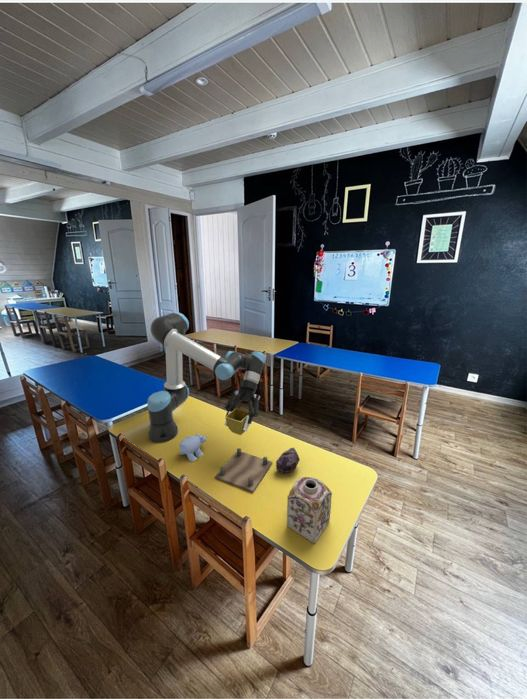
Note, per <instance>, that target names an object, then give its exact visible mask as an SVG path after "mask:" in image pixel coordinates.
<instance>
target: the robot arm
mask: <svg viewBox="0 0 527 699" xmlns="http://www.w3.org/2000/svg"><path fill="white" fill-rule="evenodd" d="M189 327H190V322H189V320H188V318H187V317H186V316H185V315H184V314H183V313H181V312H176V311H175V312H170V313H168V314H165V315H161V316H158V317H156V318H155V319H153V320H152V322H151V325H150V334H151V335H152V337H153V339H154V340H156V342H158V343H159V344H161V345H162V346H164V347H165V364H166V366H165V367H166V374H165V375H166V382H164V384H163V390H160V391H157V392H153V393H152V394H151V395H149V397H147V398H148V399H146V400H147V412H148V418H149V422H150V423H149V424H150V425H149V431H148V439H149V441H151V442H152V443H166V442H169V441H170V440H173V439H175V437H177V436H178V434H179V433H178V432H179V431H178V429H179V428H178V425H177V423H176V422H175V420H174V415H173V414H174V413H173V411H175V410H176V409H177V408H179V407H180V406H181V405H182V404H184V403H185V402H186V401H187V399H188V398H189V396H190V389H189V387H187V386H188V385H187V384H186V382H185V381H184V379H183V378H184V377H183V376H184V375H183V355H184V356H187V357H188V358H190V359H192V360H194V361H195V362H197V363H199V364H201V365H203V366H205V368H208V369H210V370H212V371H213V372H215V375H216V377H217V379H219V380H220V381H227V380H228V379H230V378H232V377H233V376H234V374H235V373H236V372H238V371H239V369H242V370H246V371H245V373H244V376H243V378H242V379H243V380H242V382H241V386H240V389H239V390H235V389H233V391H232V394H231V396H230V398H229V399H228V401H227V403H226V404H225V406H224V409H225V410H226V415H225V417H226V416H227V415H228V414H230V413H231V412H232V411H233V410H234V409H236V408H237V406H238V405H239V404H240V403H242V401H244V402H245V401H246V402H247V407H248V412H249V415H250V416H247V419H246V422H245V425H244V429H243V430H244V431H245V432H248V429H249V427H248V426H250V425H252V421H253V418H257V417H258V416H259V406H260V405H259V404H260V399H261V396H260V395H259V394H258V393H257V394H256V391H257V389H258V384H259V381H260V378H261V375H262V373H263V370H264V366H265V362H266V358H267V357H266V354H264V353H263V352H261V351H257V350H256V351H252V352H251V353H250V354H247V353H242V352H237V351H232V350H229V351H228V352H227V353H226V354H225V357H223V356H221V355H219V354H218V353H216V352H214V351H212V350H210V349H208V348H207V347H205V346H203V345H202V344H199V343H198V342H196V341H194V340H192V339H190V338H189V337H187V336H186V332H187V331H188V330H189ZM253 398H254V403H253ZM223 425H224V426H225V427H228V426H227V422H226V421H225V422H224V424H223Z"/></svg>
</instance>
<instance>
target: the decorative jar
mask: <svg viewBox="0 0 527 699" xmlns="http://www.w3.org/2000/svg"><path fill="white" fill-rule="evenodd" d="M332 494H333V492H332V491H331V489H330V488H328V486H327V485H326V483H324V482H323V480H319V478H317V477H316V478H315V477H313V476H305V477H299V478H298V479H297V480H296V481H295V482H294V484H293V485H292V487H291V489H290V490H289V493H288V495H287V500H286V501H287V506H286V526H287V527H288V528H290V529H291V530H293V531H294V532H295V533H297V534H298V535H300V536H301V537H303V538H305V539H306V540H308V541H309V542H310V543H312V544H314V543H315V544H316V543H317V541H318V539H320V536H321V535H322V533H323V532H324V530H325V528H326V527H327V525H329V522H330V519H331V508H332Z"/></svg>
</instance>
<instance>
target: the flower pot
mask: <svg viewBox="0 0 527 699" xmlns="http://www.w3.org/2000/svg"><path fill="white" fill-rule="evenodd" d="M247 416H250V415H249V410H244V409H240V408H238V407H235V408H234V410H233V411H232V412H231V413H230V414H228V415H227V416H226V415H225V422H227V426H226V427H227V428H228V429H229V431H230V432H232V433H234V434H236V435H238V436H242V435H243V434H244V433H245V432H246V431H244V430H243V429H244V425H245V422H246V419H247ZM249 426H250V425H249ZM249 426H248V428H249Z"/></svg>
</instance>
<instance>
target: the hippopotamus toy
mask: <svg viewBox="0 0 527 699" xmlns="http://www.w3.org/2000/svg"><path fill="white" fill-rule="evenodd" d="M206 442H207V436H205V435H203V434H198V433H196V434H195V435H190V436H187V437H186V438H184V439H183V440H182V441H181V442H180V443H179V455H180V456H184V455H186V456H187V459H188V461H189V462H191V463H192V462H193V463H194V462H195V461H196V460H197V459H198V458H201V457H203V456H204V453H203V452H202V450H201V444H203V443H206Z"/></svg>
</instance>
